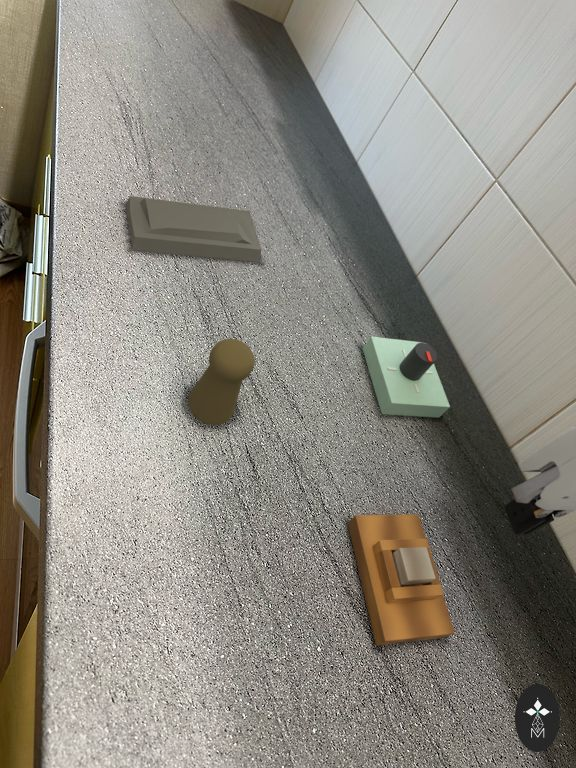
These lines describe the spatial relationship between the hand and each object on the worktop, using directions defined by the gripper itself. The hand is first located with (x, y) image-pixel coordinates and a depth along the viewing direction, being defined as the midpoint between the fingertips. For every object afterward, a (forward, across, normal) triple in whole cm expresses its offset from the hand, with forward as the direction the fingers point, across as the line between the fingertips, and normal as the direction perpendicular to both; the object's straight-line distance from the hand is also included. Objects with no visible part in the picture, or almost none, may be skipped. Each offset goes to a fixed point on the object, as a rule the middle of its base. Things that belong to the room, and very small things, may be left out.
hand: (515, 520), depth 59 cm
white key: (+12, +6, +1) cm, 13 cm away
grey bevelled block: (+15, +26, -54) cm, 62 cm away
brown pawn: (+15, +26, -22) cm, 38 cm away
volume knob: (+12, -4, -28) cm, 31 cm away
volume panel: (+15, -4, -28) cm, 32 cm away
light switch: (+15, +6, +1) cm, 17 cm away
